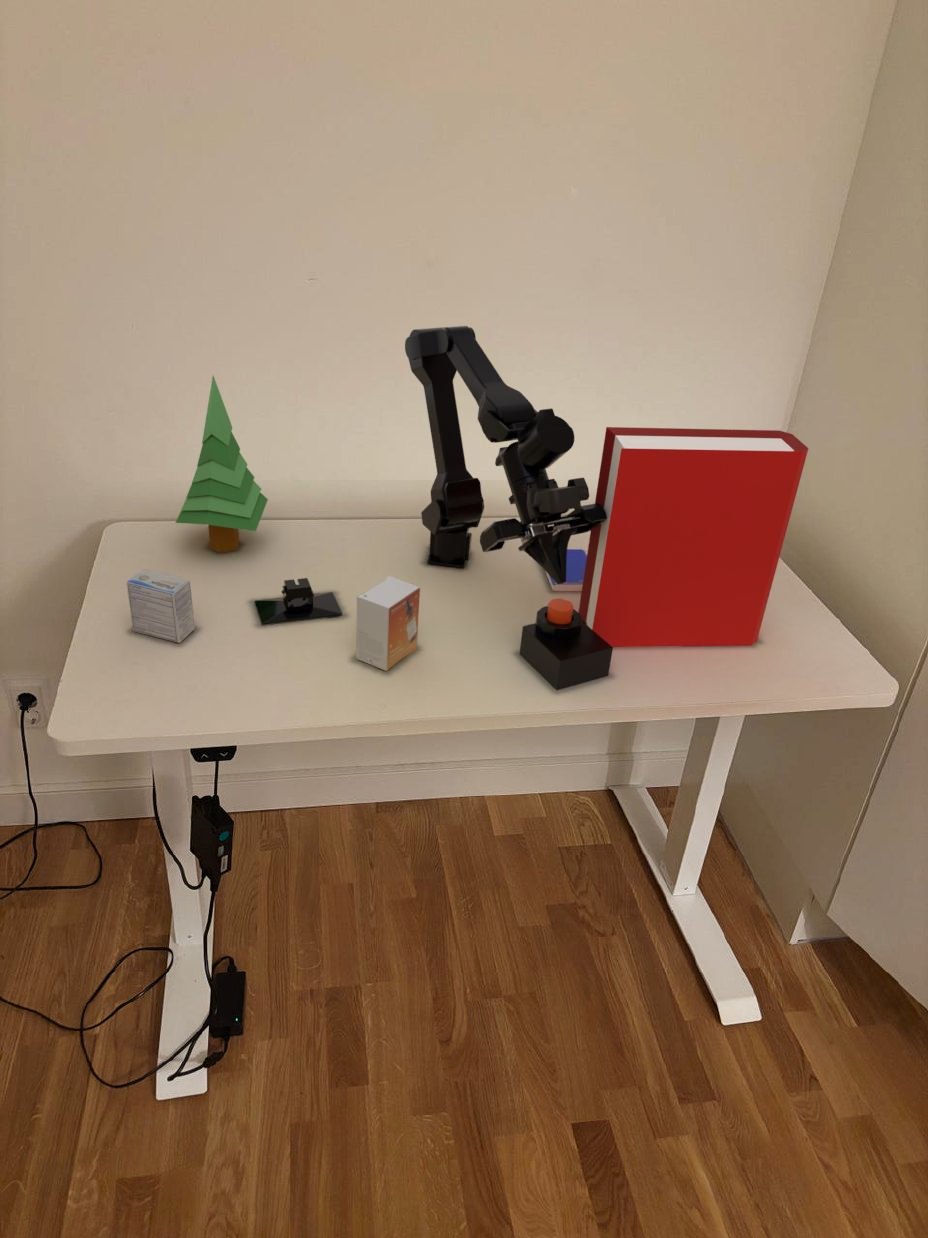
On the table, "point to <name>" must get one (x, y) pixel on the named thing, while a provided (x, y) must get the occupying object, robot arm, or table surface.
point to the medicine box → (161, 605)
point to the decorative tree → (222, 483)
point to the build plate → (297, 604)
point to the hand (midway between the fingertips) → (562, 583)
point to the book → (688, 534)
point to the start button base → (565, 651)
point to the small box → (387, 622)
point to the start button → (560, 611)
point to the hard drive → (572, 571)
